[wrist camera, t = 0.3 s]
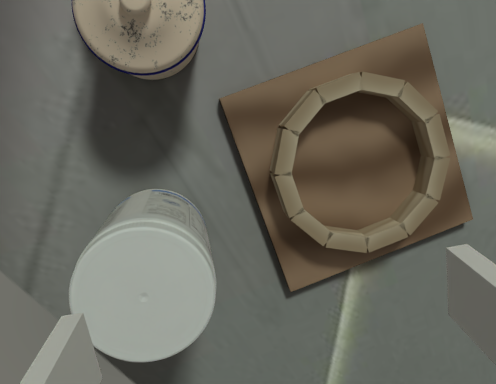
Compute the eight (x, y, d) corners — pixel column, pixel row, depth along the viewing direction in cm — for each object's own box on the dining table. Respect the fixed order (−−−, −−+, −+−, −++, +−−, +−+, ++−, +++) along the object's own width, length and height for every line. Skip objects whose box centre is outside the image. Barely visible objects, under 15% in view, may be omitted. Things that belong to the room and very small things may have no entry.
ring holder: (219, 98, 41) (221, 97, 37) (416, 25, 42) (437, 17, 38) (288, 287, 45) (296, 302, 41) (465, 216, 46) (489, 225, 42)
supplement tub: (130, 296, 43) (99, 389, 29) (89, 208, 41) (35, 260, 27) (222, 260, 44) (238, 333, 29) (187, 171, 42) (185, 203, 27)
